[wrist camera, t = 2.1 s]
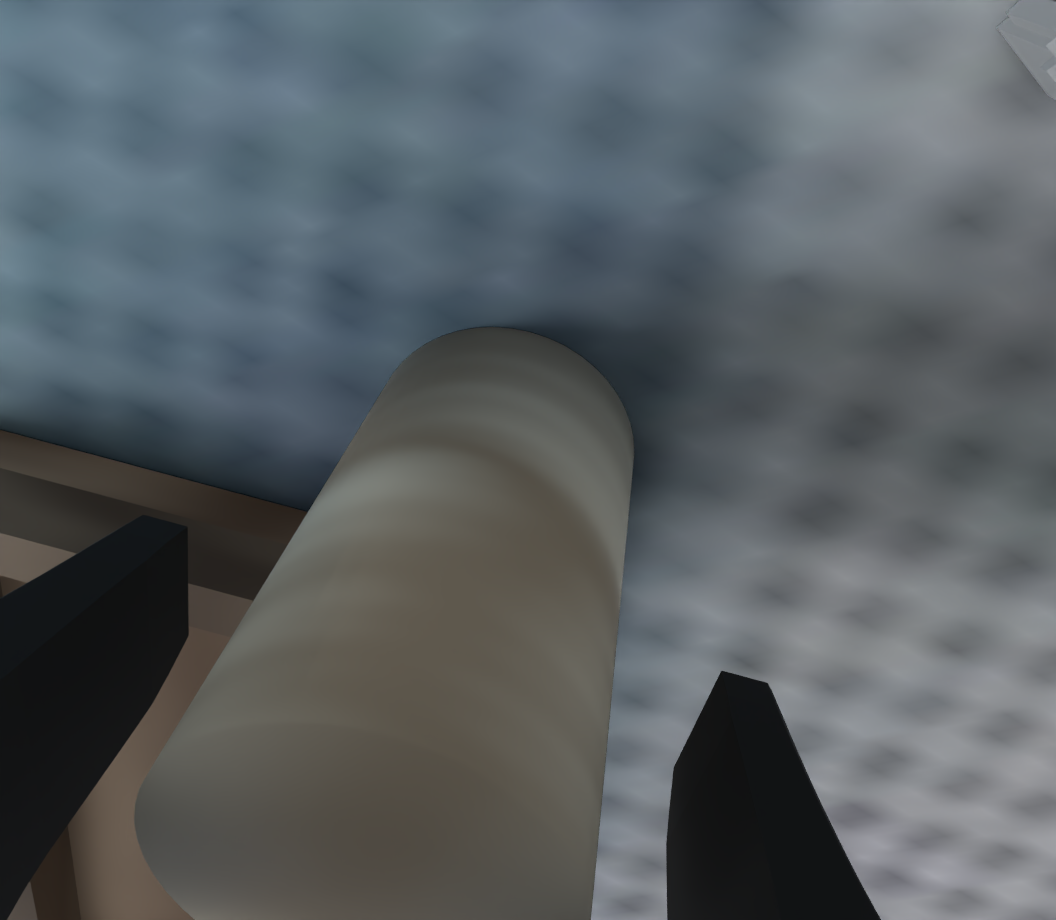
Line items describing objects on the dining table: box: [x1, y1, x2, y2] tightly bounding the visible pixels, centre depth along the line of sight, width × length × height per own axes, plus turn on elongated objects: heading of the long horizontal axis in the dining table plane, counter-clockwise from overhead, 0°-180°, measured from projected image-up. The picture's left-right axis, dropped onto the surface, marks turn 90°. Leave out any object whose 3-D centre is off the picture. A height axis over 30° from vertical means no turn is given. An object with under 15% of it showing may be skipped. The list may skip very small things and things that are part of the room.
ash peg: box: [134, 327, 634, 920], centre depth 12 cm, size 4×4×8 cm
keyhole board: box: [0, 430, 308, 920], centre depth 22 cm, size 14×24×2 cm, turn 168°
